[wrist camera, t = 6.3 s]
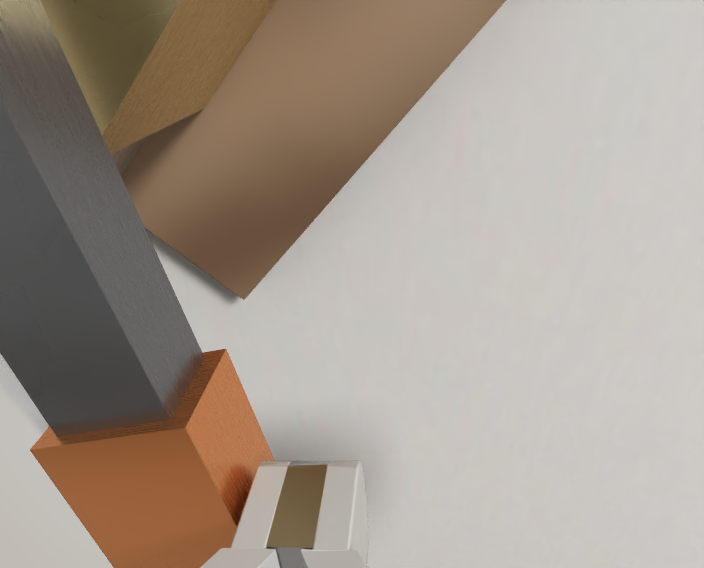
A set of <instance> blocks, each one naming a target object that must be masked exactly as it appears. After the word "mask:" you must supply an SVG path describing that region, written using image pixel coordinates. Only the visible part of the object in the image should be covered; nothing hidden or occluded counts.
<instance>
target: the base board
mask: <svg viewBox="0 0 704 568" xmlns="http://www.w3.org/2000/svg"><path fill="white" fill-rule="evenodd" d="M505 1H506V0H276V2H275V3H274V5H273V6H272V8H271V9H270V11H269V12H268V14H267V15H266V17H265V18H264V20H263V21H262V23H261V24H260V26H259V27H258V29H257V30H256V32H255V33H254V35H253V36H252V38H251V39H250V41H249V42H248V44H247V45H246V47H245V48H244V50H243V51H242V53H241V54H240V56H239V57H238V59H237V60H236V62H235V63H234V65H233V66H232V68H231V69H230V71H229V72H228V74H227V75H226V77H225V78H224V80H223V81H222V83H221V84H220V86H219V87H218V89H217V90H216V92H215V93H214V95H213V96H212V98H211V99H210V101H209V102H208V104H207V105H206V107H205V108H204V109H202V110H200V111H198V112H196V113H194V114H192V115H190V116H188V117H186V118H184V119H181V120H179V121H177V122H175V123H173V124H171V125H169V126H167V127H165V128H163V129H161V130H159V131H157V132H155V133H153V134H151V135H149V137H148V138H147V140H146V141H145V143H144V145H143V146H142V148H141V149H140V151H139V152H138V154H137V156H136V157H135V159H134V160H133V162H132V164H131V165H130V167H129V168H128V170H127V172H126V173H125V175H124V176H123V178H122V179H123V182H124V184H125V186H126V188H127V190H128V193H129V195H130V197H131V199H132V201H133V203H134V206H135V208H136V210H137V212H138V214H139V216H140V219H141V221H142V223H143V225H144V227H145V228H146V229H147V230H149V231H150V232H151V233H153V234H154V235H156V236H157V237H158V238H160V239H161V240H162V241H164V242H165V243H167V244H168V245H169V246H171V247H172V248H173V249H175V250H176V251H177V252H179V253H180V254H182V255H183V256H184V257H186V258H187V259H188V260H190V261H191V262H193V263H194V264H195V265H197V266H198V267H199V268H201V269H202V270H204V271H205V272H206V273H208V274H209V275H210V276H212V277H213V278H215V279H216V280H217V281H219V282H220V283H221V284H223V285H224V286H226V287H227V288H228V289H230V290H231V291H232V292H234V293H235V294H237V295H238V296H239V297H241V298H242V299H243V300H244V299H245V298H246V297H247V296H248V295H249V294H250V293H251V291H252V290H253V289H254V288H255V287H256V286H257V285H258V283H259V282H260V281H261V280H262V279H263V278H264V277H265V275H266V274H267V273H268V272H269V271H270V270H271V269H272V267H273V266H274V265H275V264H276V263H277V262H278V261H279V259H280V258H281V257H282V256H283V255H284V254H285V253H286V251H287V250H288V249H289V248H290V247H291V246H292V245H293V243H294V242H295V241H296V240H297V239H298V238H299V237H300V235H301V234H302V233H303V232H304V231H305V230H306V229H307V227H308V226H309V225H310V224H311V223H312V222H313V221H314V219H315V218H316V217H317V216H318V215H319V214H320V213H321V211H322V210H323V209H324V208H325V207H326V206H327V204H328V203H329V202H330V201H331V200H332V199H333V198H334V196H335V195H336V194H337V193H338V192H339V191H340V190H341V188H342V187H343V186H344V185H345V184H346V183H347V182H348V180H349V179H350V178H351V177H352V176H353V175H354V174H355V172H356V171H357V170H358V169H359V168H360V167H361V166H362V164H363V163H364V162H365V161H366V160H367V159H368V158H369V156H370V155H371V154H372V153H373V152H374V151H375V150H376V148H377V147H378V146H379V145H380V144H381V143H382V142H383V140H384V139H385V138H386V137H387V136H388V135H389V134H390V132H391V131H392V130H393V129H394V128H395V127H396V126H397V124H398V123H399V122H400V121H401V120H402V119H403V118H404V116H405V115H406V114H407V113H408V112H409V111H410V110H411V108H412V107H413V106H414V105H415V104H416V103H417V102H418V100H419V99H420V98H421V97H422V96H423V95H424V94H425V92H426V91H427V90H428V89H429V88H430V87H431V86H432V84H433V83H434V82H435V81H436V80H437V79H438V78H439V76H440V75H441V74H442V73H443V72H444V71H445V70H446V68H447V67H448V66H449V65H450V64H451V63H452V62H453V60H454V59H455V58H456V57H457V56H458V55H459V54H460V52H461V51H462V50H463V49H464V48H465V47H466V46H467V44H468V43H469V42H470V41H471V40H472V39H473V38H474V36H475V35H476V34H477V33H478V32H479V31H480V30H481V28H482V27H483V26H484V25H485V24H486V23H487V22H488V20H489V19H490V18H491V17H492V16H493V15H494V14H495V12H496V11H497V10H498V9H499V8H500V7H501V6H502V4H503V3H504V2H505Z"/></svg>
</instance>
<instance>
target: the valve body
mask: <svg viewBox="0 0 704 568" xmlns="http://www.w3.org/2000/svg"><path fill="white" fill-rule="evenodd" d="M40 1H41V3H42V6H43V8H44V10H45V12H46V14H47V16H48V19H49V21H50V23H51V25H52V27H53V30H54V32H55V34H56V36H57V38H58V40H59V43H60V45H61V47H62V49H63V51H64V53H65V56H66V58H67V60H68V62H69V64H70V66H71V69H72V71H73V73H74V75H75V77H76V79H77V82H78V84H79V86H80V88H81V90H82V93H83V95H84V97H85V99H86V101H87V103H88V106H89V108H90V110H91V112H92V114H93V116H94V119H95V121H96V123H97V125H98V127H99V129H100V132H101V134H102V136H103V138H104V140H105V143H106V145H107V147H108V149H109V151H110V153H111V156H112V158H113V160H114V162H115V164H116V166H117V169H118V171H119V173H120V175H121V177H122V178H123V176H124V175H125V173H126V172H127V170H128V168H129V167H130V165H131V164H132V162H133V160H134V159H135V157H136V156H137V154H138V152H139V151H140V149H141V148H142V146H143V145H144V143H145V141H146V140H147V138H148V137H149V135H151V134H153V133H155V132H157V131H159V130H161V129H163V128H165V127H167V126H169V125H171V124H173V123H175V122H177V121H179V120H181V119H184V118H186V117H188V116H190V115H192V114H194V113H196V112H198V111H200V110H202V109H204V108H205V107H206V105H207V104H208V102H209V101H210V99H211V98H212V96H213V95H214V93H215V92H216V90H217V89H218V87H219V86H220V84H221V83H222V81H223V80H224V78H225V77H226V75H227V74H228V72H229V71H230V69H231V68H232V66H233V65H234V63H235V62H236V60H237V59H238V57H239V56H240V54H241V53H242V51H243V50H244V48H245V47H246V45H247V44H248V42H249V41H250V39H251V38H252V36H253V35H254V33H255V32H256V30H257V29H258V27H259V26H260V24H261V23H262V21H263V20H264V18H265V17H266V15H267V14H268V12H269V11H270V9H271V8H272V6H273V5H274V3H275V2H276V0H40Z"/></svg>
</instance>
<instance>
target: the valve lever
mask: <svg viewBox="0 0 704 568" xmlns="http://www.w3.org/2000/svg"><path fill="white" fill-rule="evenodd" d="M0 353H1V355H2V356H3V357H4V359H5V360H6V362H7V363H8V365H9V366H10V368H11V369H12V371H13V372H14V374H15V375H16V377H17V378H18V380H19V381H20V383H21V384H22V386H23V387H24V389H25V390H26V392H27V393H28V395H29V396H30V398H31V399H32V401H33V402H34V404H35V405H36V407H37V408H38V410H39V411H40V413H41V414H42V416H43V417H44V419H45V420H46V422H47V423H48V424H49V426H50V427H49V428H48V429H47V430H46V432H45V433H44V434H43V435H42V436H41V438H40V439H39V440H38V441H37V442H36V443H35V445H34V446H33V447H32V448H31V449H30V451H31V452H32V453H33V455H34V456H35V458H36V459H37V460H38V462H39V463H40V464H41V466H42V467H43V469H44V470H45V472H46V473H47V475H48V476H49V477H50V479H51V480H52V481H53V483H54V484H55V486H56V487H57V489H58V490H59V491H60V493H61V494H62V496H63V497H64V498H65V500H66V501H67V503H68V504H69V505H70V507H71V508H72V509H73V511H74V512H75V514H76V515H77V517H78V518H79V519H80V521H81V522H82V524H83V525H84V526H85V528H86V529H87V531H88V532H89V533H90V535H91V536H92V538H93V539H94V540H95V542H96V543H97V544H98V546H99V547H100V549H101V550H102V552H103V553H104V554H105V556H106V557H107V559H108V560H109V561H110V563H111V564H112V566H113V567H114V568H200V567H201V566H202V565H203V564H204V563H205V562H206V561H207V560H209V559H210V558H211V557H212V556H213V555H214V554H215V553H216V552H217V551H218V550H219V549H220V548H230V546H231V543H232V541H233V538H234V535H235V532H236V529H237V526H238V523H239V520H240V517H241V514H242V511H243V508H244V505H245V502H246V499H247V496H248V494H249V491H250V488H251V485H252V482H253V479H254V476H255V473H256V470H257V468H258V467H259V465H260V464H261V463H262V461H274V458H273V456H272V454H271V451H270V449H269V447H268V444H267V442H266V440H265V437H264V435H263V433H262V431H261V428H260V426H259V424H258V421H257V419H256V417H255V414H254V412H253V410H252V407H251V405H250V403H249V401H248V398H247V396H246V394H245V391H244V389H243V387H242V384H241V382H240V380H239V377H238V375H237V373H236V371H235V368H234V366H233V364H232V361H231V359H230V357H229V354H228V352H227V350H226V349H222V350H216V351H210V352H205V353H202V351H201V349H200V347H199V345H198V343H197V340H196V338H195V336H194V334H193V332H192V329H191V327H190V325H189V323H188V321H187V319H186V316H185V314H184V312H183V310H182V308H181V306H180V303H179V301H178V299H177V297H176V295H175V293H174V290H173V288H172V286H171V284H170V282H169V279H168V277H167V275H166V273H165V271H164V269H163V266H162V264H161V262H160V260H159V258H158V256H157V253H156V251H155V249H154V247H153V245H152V243H151V240H150V238H149V236H148V234H147V232H146V229H145V227H144V225H143V223H142V221H141V219H140V216H139V214H138V212H137V210H136V208H135V206H134V203H133V201H132V199H131V197H130V195H129V193H128V190H127V188H126V186H125V184H124V182H123V179H122V177H121V175H120V173H119V171H118V169H117V166H116V164H115V162H114V160H113V158H112V156H111V153H110V151H109V149H108V147H107V145H106V143H105V140H104V138H103V136H102V134H101V132H100V129H99V127H98V125H97V123H96V121H95V119H94V116H93V114H92V112H91V110H90V108H89V106H88V103H87V101H86V99H85V97H84V95H83V93H82V90H81V88H80V86H79V84H78V82H77V79H76V77H75V75H74V73H73V71H72V69H71V66H70V64H69V62H68V60H67V58H66V56H65V53H64V51H63V49H62V47H61V45H60V43H59V40H58V38H57V36H56V34H55V32H54V30H53V27H52V25H51V23H50V21H49V19H48V16H47V14H46V12H45V10H44V8H43V6H42V3H41V1H40V0H0Z"/></svg>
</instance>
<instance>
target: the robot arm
mask: <svg viewBox="0 0 704 568" xmlns="http://www.w3.org/2000/svg"><path fill="white" fill-rule="evenodd" d="M368 546H369V537H368V507H367V499H366V491H365V483H364V475H363V467H362V464H361V462H360V461H292V462H287V461H262V463H261V464H260V465H259V467H258V468H257V470H256V473H255V476H254V479H253V482H252V485H251V488H250V491H249V494H248V496H247V499H246V502H245V505H244V508H243V511H242V514H241V517H240V520H239V523H238V526H237V529H236V532H235V535H234V538H233V541H232V543H231V546H230V548H220V549H219V550H218V551H217V552H216V553H215V554H214V555H213V556H212V557H211V558H210V559H209V560H207V561H206V562H205V563H204V564H203V565H202V566H201V567H200V568H368V566H367V560H368Z"/></svg>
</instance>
